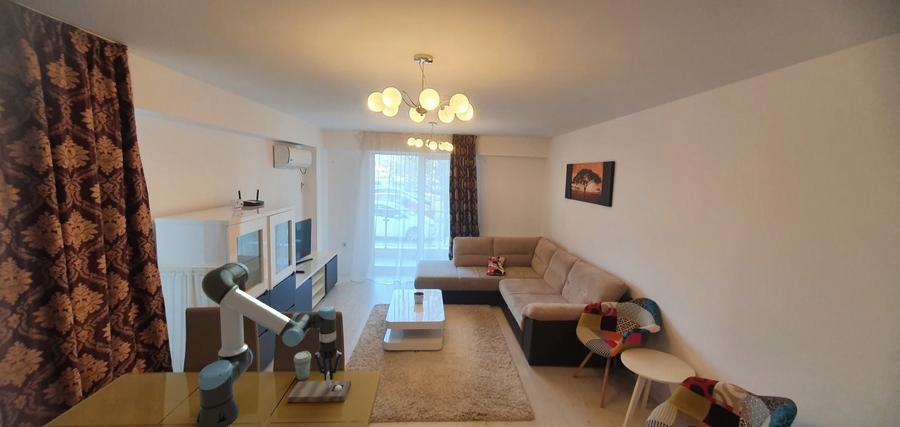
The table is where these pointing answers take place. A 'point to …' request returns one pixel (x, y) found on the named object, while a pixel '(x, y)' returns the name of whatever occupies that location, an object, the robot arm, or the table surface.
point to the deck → (318, 391)
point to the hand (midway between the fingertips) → (329, 385)
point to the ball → (338, 388)
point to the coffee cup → (302, 364)
